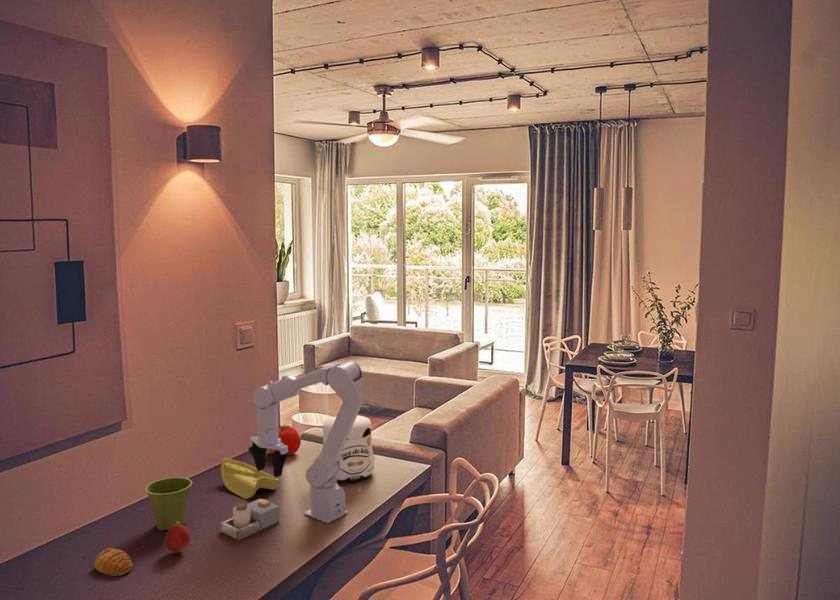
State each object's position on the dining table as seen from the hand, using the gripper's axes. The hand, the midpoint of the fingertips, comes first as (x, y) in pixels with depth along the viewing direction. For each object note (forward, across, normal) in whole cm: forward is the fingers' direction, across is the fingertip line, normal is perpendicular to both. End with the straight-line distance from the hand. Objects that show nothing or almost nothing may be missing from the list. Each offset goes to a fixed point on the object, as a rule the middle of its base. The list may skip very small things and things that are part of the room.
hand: (269, 472), depth 181 cm
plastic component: (+10, +17, -5) cm, 20 cm away
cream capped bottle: (+10, -6, +14) cm, 18 cm away
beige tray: (+10, -6, +14) cm, 18 cm away
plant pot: (+10, +12, +24) cm, 29 cm away
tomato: (+10, +30, -30) cm, 44 cm away
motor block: (+10, -6, +8) cm, 14 cm away
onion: (+10, -3, +31) cm, 33 cm away
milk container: (+10, -2, -30) cm, 32 cm away
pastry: (+10, +3, +44) cm, 45 cm away
